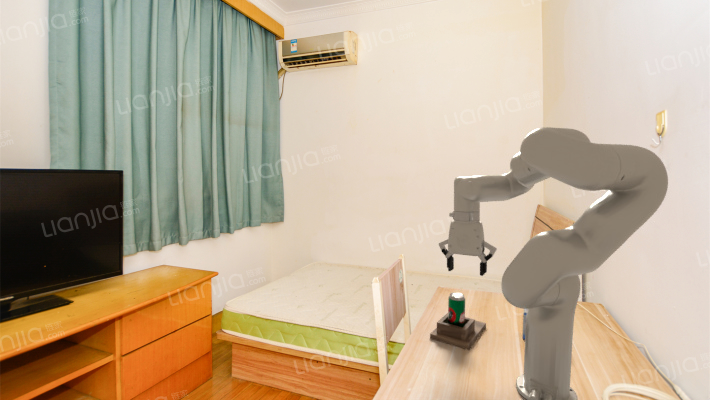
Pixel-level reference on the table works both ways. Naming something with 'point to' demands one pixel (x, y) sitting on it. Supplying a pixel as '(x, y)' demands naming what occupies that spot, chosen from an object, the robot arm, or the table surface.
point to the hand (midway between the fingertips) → (466, 272)
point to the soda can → (456, 309)
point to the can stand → (458, 332)
